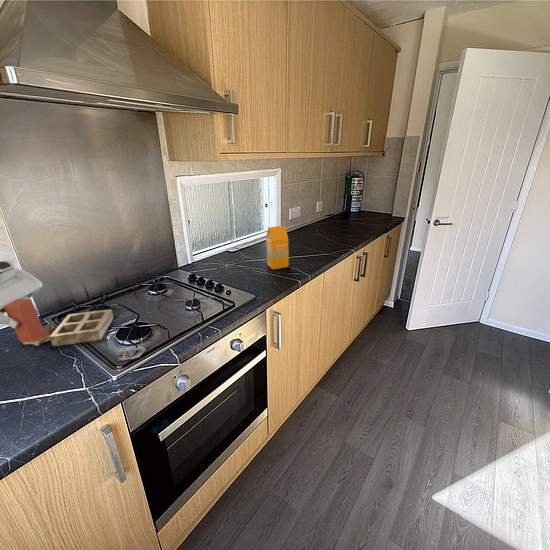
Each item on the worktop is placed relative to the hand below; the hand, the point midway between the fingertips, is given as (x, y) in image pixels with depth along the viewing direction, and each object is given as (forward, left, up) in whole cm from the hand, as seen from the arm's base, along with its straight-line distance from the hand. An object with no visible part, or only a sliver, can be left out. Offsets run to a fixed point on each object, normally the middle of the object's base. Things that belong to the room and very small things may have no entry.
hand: (27, 319), depth 71 cm
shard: (-13, +22, -18) cm, 31 cm away
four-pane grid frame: (+1, +22, -18) cm, 28 cm away
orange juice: (+76, +62, -18) cm, 100 cm away
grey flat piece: (+19, +5, -18) cm, 26 cm away
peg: (-1, 0, -5) cm, 5 cm away
